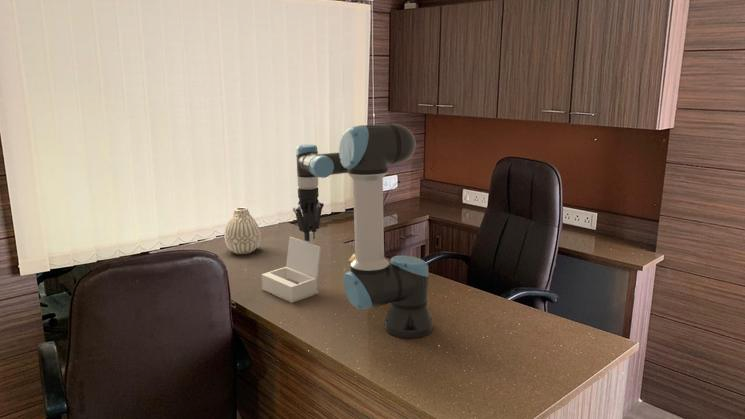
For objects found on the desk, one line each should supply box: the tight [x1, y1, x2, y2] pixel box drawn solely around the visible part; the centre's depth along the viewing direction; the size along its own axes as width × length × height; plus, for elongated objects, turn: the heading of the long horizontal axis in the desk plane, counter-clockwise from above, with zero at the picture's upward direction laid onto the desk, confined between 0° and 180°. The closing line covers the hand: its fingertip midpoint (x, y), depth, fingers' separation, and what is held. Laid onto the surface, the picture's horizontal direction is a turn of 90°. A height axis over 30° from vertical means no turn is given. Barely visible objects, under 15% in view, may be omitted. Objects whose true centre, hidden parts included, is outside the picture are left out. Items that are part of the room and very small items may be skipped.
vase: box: [223, 206, 262, 255], centre depth 250 cm, size 16×16×20 cm
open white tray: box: [261, 266, 319, 304], centre depth 207 cm, size 18×12×6 cm, turn 46°
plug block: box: [285, 278, 299, 284], centre depth 205 cm, size 6×4×4 cm
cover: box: [285, 236, 322, 279], centre depth 210 cm, size 18×12×1 cm
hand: (309, 248), depth 211 cm, fingers closed
